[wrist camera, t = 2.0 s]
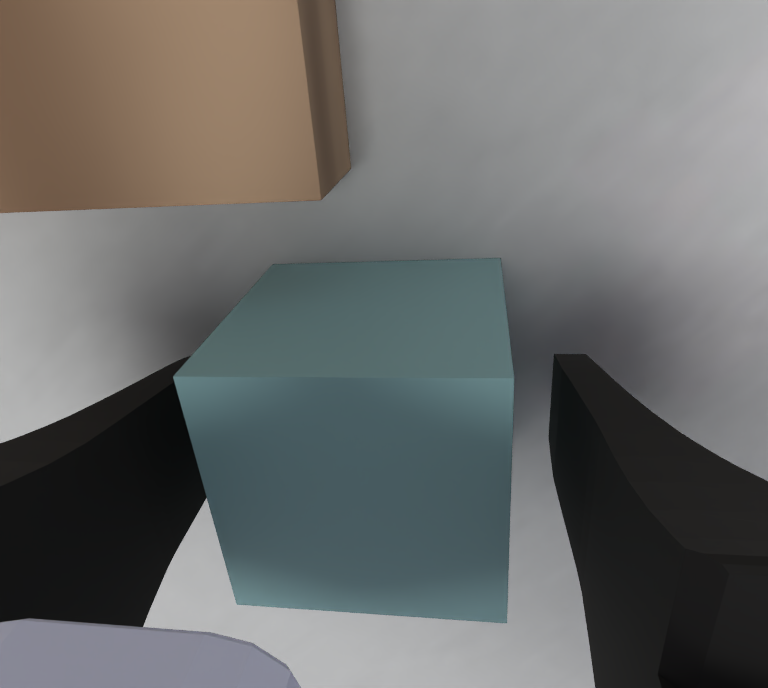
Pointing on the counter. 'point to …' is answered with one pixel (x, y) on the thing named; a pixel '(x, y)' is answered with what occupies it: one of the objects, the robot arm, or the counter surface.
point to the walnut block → (169, 103)
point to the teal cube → (361, 438)
